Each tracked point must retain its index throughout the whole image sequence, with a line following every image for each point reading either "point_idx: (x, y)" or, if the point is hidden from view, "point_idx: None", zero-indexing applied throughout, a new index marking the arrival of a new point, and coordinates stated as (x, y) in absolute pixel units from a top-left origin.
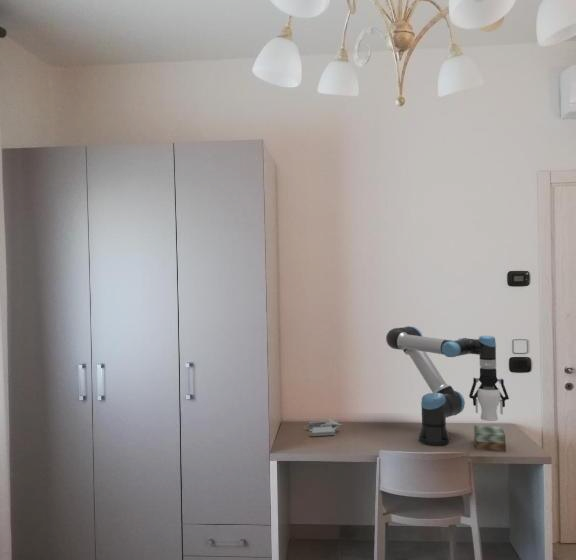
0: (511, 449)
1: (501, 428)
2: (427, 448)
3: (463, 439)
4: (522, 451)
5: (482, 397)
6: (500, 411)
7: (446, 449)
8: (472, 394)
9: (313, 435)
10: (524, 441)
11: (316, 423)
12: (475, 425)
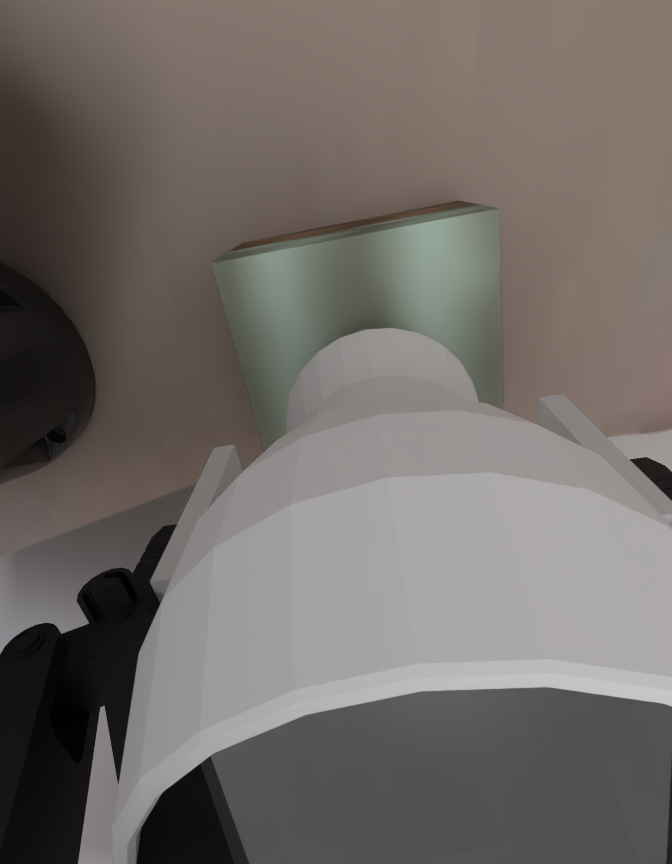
0: (514, 338)
1: (488, 273)
2: (22, 510)
3: (150, 227)
4: (584, 353)
5: (311, 791)
6: (547, 423)
7: (124, 488)
8: (85, 759)
9: None
10: (665, 50)
11: None
12: (223, 262)
